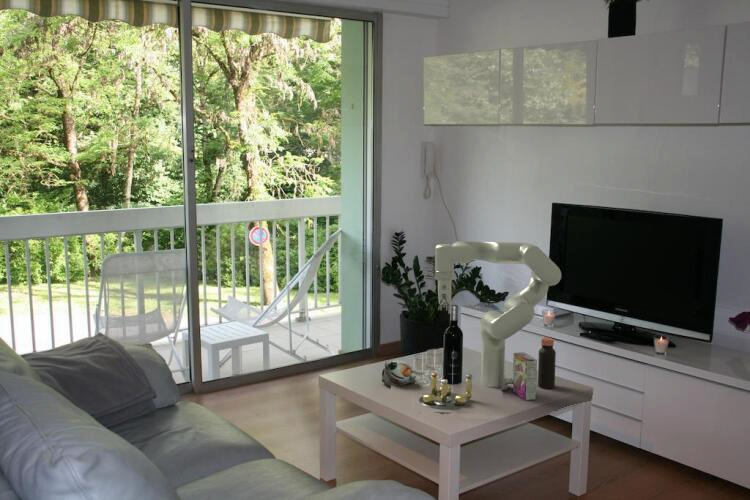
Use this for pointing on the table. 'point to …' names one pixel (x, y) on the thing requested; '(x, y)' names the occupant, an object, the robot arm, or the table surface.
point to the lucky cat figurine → (397, 373)
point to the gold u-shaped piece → (434, 386)
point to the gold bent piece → (463, 398)
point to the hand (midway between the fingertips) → (444, 317)
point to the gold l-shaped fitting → (431, 397)
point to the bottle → (546, 364)
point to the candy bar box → (524, 376)
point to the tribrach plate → (447, 406)
